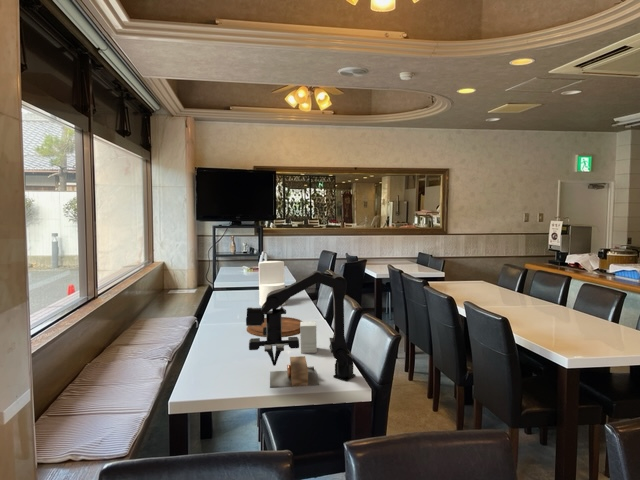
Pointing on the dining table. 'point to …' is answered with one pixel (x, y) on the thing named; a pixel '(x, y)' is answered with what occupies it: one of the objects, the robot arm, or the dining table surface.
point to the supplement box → (308, 337)
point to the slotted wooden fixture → (294, 375)
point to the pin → (310, 370)
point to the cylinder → (270, 278)
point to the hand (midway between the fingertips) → (274, 365)
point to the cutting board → (288, 327)
